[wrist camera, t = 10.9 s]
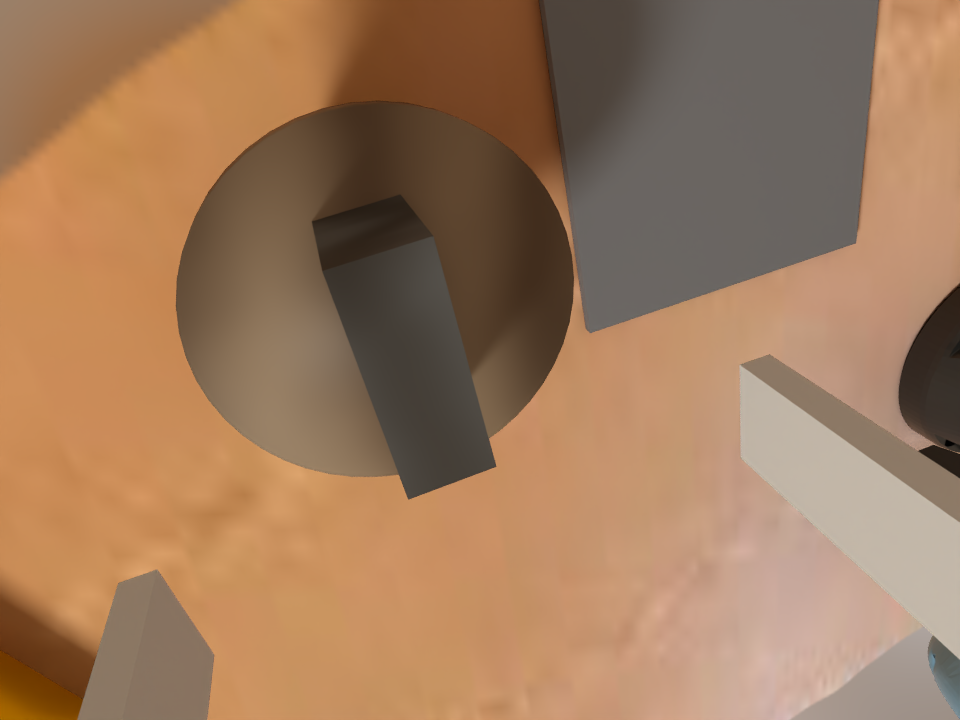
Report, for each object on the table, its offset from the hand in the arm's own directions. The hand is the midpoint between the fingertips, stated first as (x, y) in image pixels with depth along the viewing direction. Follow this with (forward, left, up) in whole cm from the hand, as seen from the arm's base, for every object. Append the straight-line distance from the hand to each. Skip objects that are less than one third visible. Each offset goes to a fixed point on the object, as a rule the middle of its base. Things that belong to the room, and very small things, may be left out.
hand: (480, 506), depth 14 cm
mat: (-20, 0, -21) cm, 28 cm away
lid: (0, 0, -12) cm, 12 cm away
